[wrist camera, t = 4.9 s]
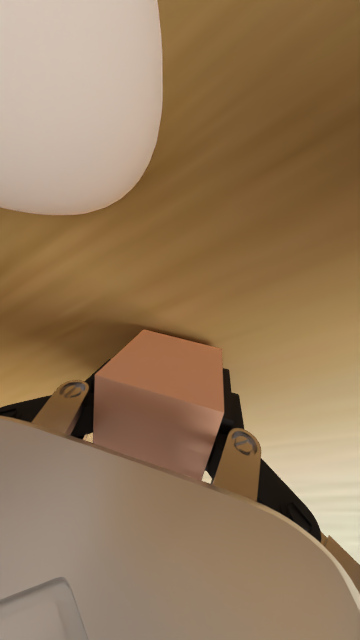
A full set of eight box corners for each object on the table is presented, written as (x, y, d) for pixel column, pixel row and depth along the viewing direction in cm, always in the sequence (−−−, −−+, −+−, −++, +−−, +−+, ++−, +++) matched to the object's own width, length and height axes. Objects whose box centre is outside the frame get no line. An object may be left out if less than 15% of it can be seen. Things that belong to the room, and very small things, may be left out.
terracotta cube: (143, 329, 12) (94, 374, 7) (221, 348, 11) (224, 412, 7) (135, 391, 13) (92, 461, 9) (203, 411, 13) (195, 498, 8)
